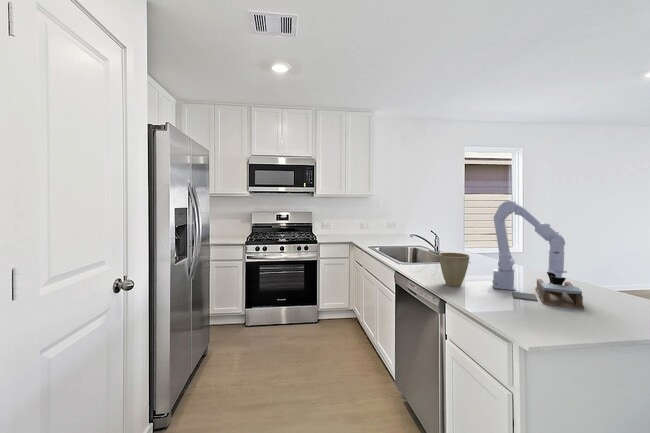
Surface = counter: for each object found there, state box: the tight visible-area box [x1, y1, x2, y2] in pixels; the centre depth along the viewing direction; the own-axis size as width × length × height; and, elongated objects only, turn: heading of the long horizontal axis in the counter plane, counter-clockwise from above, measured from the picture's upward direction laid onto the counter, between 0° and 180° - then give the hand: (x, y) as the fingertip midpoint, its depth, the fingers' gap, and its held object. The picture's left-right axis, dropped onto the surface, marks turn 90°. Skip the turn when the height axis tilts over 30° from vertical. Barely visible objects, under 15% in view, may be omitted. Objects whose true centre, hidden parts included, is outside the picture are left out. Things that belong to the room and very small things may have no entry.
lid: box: [541, 282, 583, 296], centre depth 135 cm, size 13×8×1 cm, turn 62°
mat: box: [511, 291, 538, 302], centre depth 143 cm, size 9×9×1 cm
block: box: [548, 282, 562, 295], centre depth 146 cm, size 4×4×5 cm
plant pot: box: [438, 252, 471, 288], centre depth 163 cm, size 15×15×16 cm
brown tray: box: [535, 278, 585, 309], centre depth 141 cm, size 14×23×5 cm, turn 152°
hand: (555, 289), depth 146 cm, fingers open, 7 cm apart
